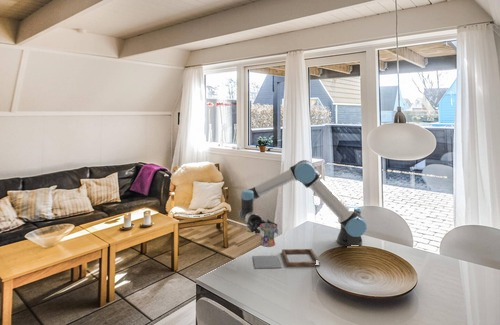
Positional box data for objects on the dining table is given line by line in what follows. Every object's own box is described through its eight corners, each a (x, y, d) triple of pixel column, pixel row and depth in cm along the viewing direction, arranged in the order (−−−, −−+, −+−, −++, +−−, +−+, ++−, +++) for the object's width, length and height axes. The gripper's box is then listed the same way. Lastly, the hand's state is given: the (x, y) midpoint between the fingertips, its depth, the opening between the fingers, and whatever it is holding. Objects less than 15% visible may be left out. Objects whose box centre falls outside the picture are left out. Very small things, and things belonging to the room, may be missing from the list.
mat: (277, 256, 166) (277, 255, 166) (281, 268, 152) (281, 267, 152) (253, 256, 165) (253, 256, 165) (254, 268, 151) (254, 267, 151)
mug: (276, 248, 152) (278, 229, 150) (259, 248, 152) (260, 228, 150) (274, 240, 164) (275, 221, 162) (258, 239, 163) (259, 221, 162)
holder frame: (311, 252, 172) (311, 248, 172) (319, 266, 155) (320, 262, 154) (281, 252, 171) (282, 249, 171) (287, 266, 154) (287, 263, 153)
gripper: (269, 224, 178) (288, 237, 157) (236, 228, 169) (252, 242, 149) (269, 212, 177) (288, 223, 156) (236, 215, 168) (252, 228, 148)
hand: (271, 232), depth 152 cm, fingers closed on mug, 8 cm apart
